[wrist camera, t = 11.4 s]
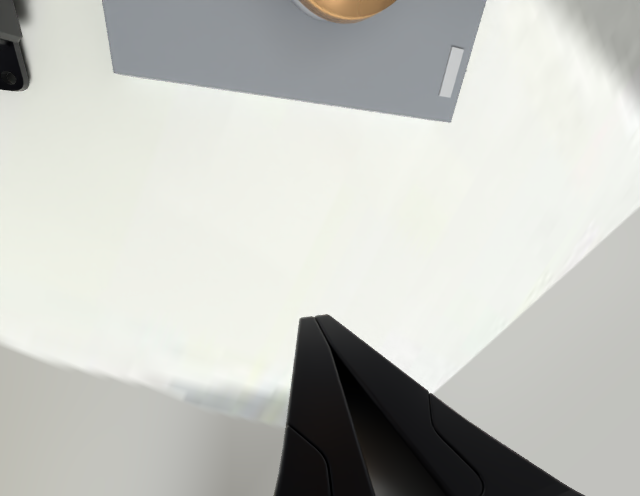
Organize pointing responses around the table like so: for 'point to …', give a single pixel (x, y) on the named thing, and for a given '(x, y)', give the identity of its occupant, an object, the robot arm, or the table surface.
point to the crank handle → (346, 9)
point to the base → (302, 51)
